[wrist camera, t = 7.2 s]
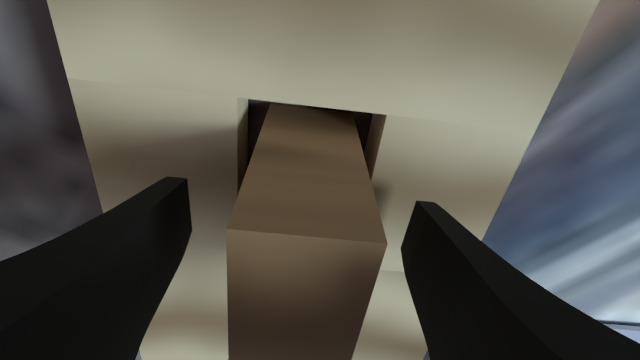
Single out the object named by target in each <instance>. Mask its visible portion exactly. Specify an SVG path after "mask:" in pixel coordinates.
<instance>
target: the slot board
mask: <svg viewBox="0 0 640 360" xmlns="http://www.w3.org/2000/svg"><path fill="white" fill-rule="evenodd" d="M598 2H599V0H47V4H48V7H49V11H50V15H51V19H52V22H53V26H54V30H55V34H56V37H57V41H58V45H59V49H60V53H61V56H62V60H63V64H64V68H65V71H66V75H67V79H68V83H69V86H70V90H71V94H72V98H73V102H74V105H75V109H76V113H77V117H78V120H79V124H80V128H81V132H82V135H83V139H84V143H85V147H86V151H87V154H88V158H89V162H90V166H91V169H92V173H93V177H94V181H95V184H96V188H97V192H98V196H99V200H100V203H101V207H102V211H103V213H105V212H107V211H109V210H110V209H112V208H114V207H116V206H117V205H119V204H121V203H122V202H124V201H126V200H127V199H129V198H131V197H132V196H134V195H136V194H137V193H139V192H141V191H142V190H144V189H146V188H147V187H149V186H151V185H152V184H154V183H156V182H157V181H159V180H161V179H163V178H165V177H167V176H168V177H179V178H187V180H188V190H189V201H190V211H191V222H192V233H191V236H190V239H189V242H188V245H187V248H186V251H185V253H184V256H183V259H182V261H181V263H180V265H179V267H178V269H177V271H176V273H175V275H174V277H173V279H172V281H171V283H170V285H169V287H168V289H167V291H166V293H165V295H164V297H163V299H162V301H161V303H160V305H159V307H158V309H157V311H156V313H155V315H154V317H153V319H152V321H151V323H150V325H149V327H148V329H147V331H146V333H145V336H144V338H143V340H142V343H141V345H140V348H139V350H140V354H141V358H142V360H228V307H227V254H226V228H227V225H228V222H229V219H230V216H231V213H232V211H233V208H234V205H235V202H236V199H237V196H238V194H239V191H240V188H241V185H242V182H243V179H244V177H245V174H246V171H247V163H248V99H254V100H263V101H272V102H280V103H289V104H298V105H306V106H315V107H324V108H332V109H341V110H350V111H358V112H367V113H373V114H372V119H371V123H370V128H369V133H368V137H367V142H366V147H365V151H364V158H365V161H366V165H367V169H368V173H369V176H370V180H371V184H372V187H373V191H374V195H375V199H376V202H377V206H378V210H379V213H380V217H381V221H382V225H383V228H384V232H385V236H386V239H387V243H388V244H387V248H386V251H385V254H384V257H383V260H382V264H381V267H380V270H379V273H378V276H377V280H376V283H375V286H374V289H373V293H372V296H371V299H370V302H369V305H368V309H367V312H366V315H365V318H364V321H363V325H362V328H361V331H360V334H359V337H358V341H357V344H356V347H355V350H354V353H353V357H352V360H423V359H424V357H425V355H426V353H427V350H428V348H427V344H426V341H425V338H424V335H423V331H422V328H421V325H420V322H419V319H418V316H417V313H416V309H415V306H414V303H413V300H412V297H411V294H410V290H409V287H408V284H407V281H406V277H405V273H404V267H403V261H402V255H401V245H402V242H403V239H404V236H405V233H406V230H407V227H408V224H409V221H410V218H411V215H412V212H413V209H414V206H415V203H416V200H417V201H427V202H435V203H436V204H438V205H439V206H440V207H442V208H443V209H444V210H445V211H447V212H448V213H449V214H450V215H451V216H452V217H454V218H455V219H456V220H457V221H458V222H459V223H461V224H462V225H463V226H464V227H465V228H466V229H467V230H469V231H470V232H471V233H472V234H473V235H474V236H476V237H477V238H478V239H479V240H480V241H482V239H483V237H484V234H485V232H486V230H487V228H488V226H489V224H490V222H491V220H492V218H493V216H494V214H495V212H496V210H497V208H498V206H499V204H500V202H501V200H502V198H503V196H504V194H505V192H506V190H507V188H508V186H509V184H510V182H511V180H512V178H513V175H514V173H515V171H516V169H517V167H518V165H519V163H520V161H521V159H522V157H523V155H524V153H525V151H526V149H527V147H528V145H529V143H530V141H531V139H532V137H533V135H534V133H535V131H536V129H537V127H538V125H539V123H540V121H541V118H542V116H543V114H544V112H545V110H546V108H547V106H548V104H549V102H550V100H551V98H552V96H553V94H554V92H555V90H556V88H557V86H558V84H559V82H560V80H561V78H562V76H563V74H564V72H565V70H566V68H567V66H568V64H569V62H570V59H571V57H572V55H573V53H574V51H575V49H576V47H577V45H578V43H579V41H580V39H581V37H582V35H583V33H584V31H585V29H586V27H587V25H588V23H589V21H590V19H591V17H592V15H593V13H594V11H595V9H596V7H597V5H598Z"/></svg>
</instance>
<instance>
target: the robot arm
mask: <svg viewBox="0 0 640 360" xmlns="http://www.w3.org/2000/svg"><path fill="white" fill-rule="evenodd" d="M191 233H192V222H191V211H190V201H189V190H188V180H187V178H179V177H168V176H167V177H165V178H163V179H161V180H159V181H157V182H156V183H154V184H152V185H151V186H149V187H147V188H146V189H144V190H142V191H141V192H139V193H137V194H136V195H134V196H132V197H131V198H129V199H127V200H126V201H124V202H122V203H121V204H119V205H117V206H116V207H114V208H112V209H110V210H109V211H107V212H105V213H103V214H101V215H99V216H98V217H96V218H94V219H92V220H90V221H88V222H86V223H85V224H83V225H81V226H79V227H77V228H75V229H73V230H71V231H69V232H67V233H65V234H63V235H61V236H59V237H57V238H55V239H53V240H50V241H48V242H46V243H44V244H41V245H39V246H37V247H35V248H32V249H30V250H28V251H25V252H23V253H21V254H18V255H16V256H13V257H10V258H8V259H5V260H3V261H0V360H135V358H136V356H137V353H138V351H139V348H140V345H141V343H142V340H143V338H144V336H145V333H146V331H147V329H148V327H149V325H150V323H151V321H152V319H153V317H154V315H155V313H156V311H157V309H158V307H159V305H160V303H161V301H162V299H163V297H164V295H165V293H166V291H167V289H168V287H169V285H170V283H171V281H172V279H173V277H174V275H175V273H176V271H177V269H178V267H179V265H180V263H181V261H182V259H183V256H184V253H185V251H186V248H187V245H188V242H189V239H190V236H191ZM401 255H402V261H403V267H404V273H405V277H406V281H407V284H408V287H409V290H410V294H411V297H412V300H413V303H414V306H415V309H416V313H417V316H418V319H419V322H420V325H421V328H422V331H423V335H424V338H425V341H426V344H427V348H428V352H429V355H430V360H640V326H628V325H614V324H602V323H600V322H599V321H597V320H595V319H593V318H592V317H590V316H588V315H587V314H585V313H583V312H581V311H580V310H578V309H576V308H575V307H573V306H571V305H569V304H568V303H566V302H565V301H563V300H561V299H560V298H558V297H557V296H555V295H553V294H552V293H550V292H549V291H547V290H546V289H544V288H543V287H542V286H540V285H539V284H537V283H536V282H534V281H533V280H531V279H530V278H528V277H527V276H525V275H524V274H523V273H521V272H520V271H518V270H517V269H516V268H514V267H513V266H512V265H510V264H509V263H508V262H507V261H505V260H504V259H503V258H501V257H500V256H499V255H497V254H496V253H495V252H494V251H493V250H491V249H490V248H489V247H488V246H486V245H485V244H484V243H483V242H482V241H480V240H479V239H478V238H477V237H476V236H474V235H473V234H472V233H471V232H470V231H469V230H467V229H466V228H465V227H464V226H463V225H462V224H461V223H459V222H458V221H457V220H456V219H455V218H454V217H452V216H451V215H450V214H449V213H448V212H447V211H445V210H444V209H443V208H442V207H440V206H439V205H438V204H436V203H435V202H427V201H417V200H416V203H415V206H414V209H413V212H412V215H411V218H410V221H409V224H408V227H407V230H406V233H405V236H404V239H403V242H402V245H401Z"/></svg>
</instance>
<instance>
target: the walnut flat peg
mask: <svg viewBox="0 0 640 360" xmlns="http://www.w3.org/2000/svg"><path fill="white" fill-rule="evenodd" d="M387 244H388V243H387V239H386V236H385V232H384V228H383V225H382V221H381V217H380V213H379V210H378V206H377V202H376V199H375V195H374V191H373V187H372V184H371V180H370V176H369V173H368V169H367V165H366V161H365V158H364V154H363V150H362V147H361V143H360V139H359V135H358V132H357V128H356V124H355V121H354V117H353V113H346V112H338V111H330V110H322V109H313V108H305V107H297V106H289V105H281V104H273V103H270V106H269V109H268V111H267V114H266V117H265V120H264V123H263V126H262V128H261V131H260V134H259V137H258V140H257V143H256V145H255V148H254V151H253V154H252V157H251V160H250V162H249V165H248V168H247V171H246V174H245V177H244V179H243V182H242V185H241V188H240V191H239V194H238V196H237V199H236V202H235V205H234V208H233V211H232V213H231V216H230V219H229V222H228V225H227V228H226V254H227V307H228V360H352V357H353V353H354V350H355V347H356V344H357V341H358V337H359V334H360V331H361V328H362V325H363V321H364V318H365V315H366V312H367V309H368V305H369V302H370V299H371V296H372V293H373V289H374V286H375V283H376V280H377V276H378V273H379V270H380V267H381V264H382V260H383V257H384V254H385V251H386V248H387Z"/></svg>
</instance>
